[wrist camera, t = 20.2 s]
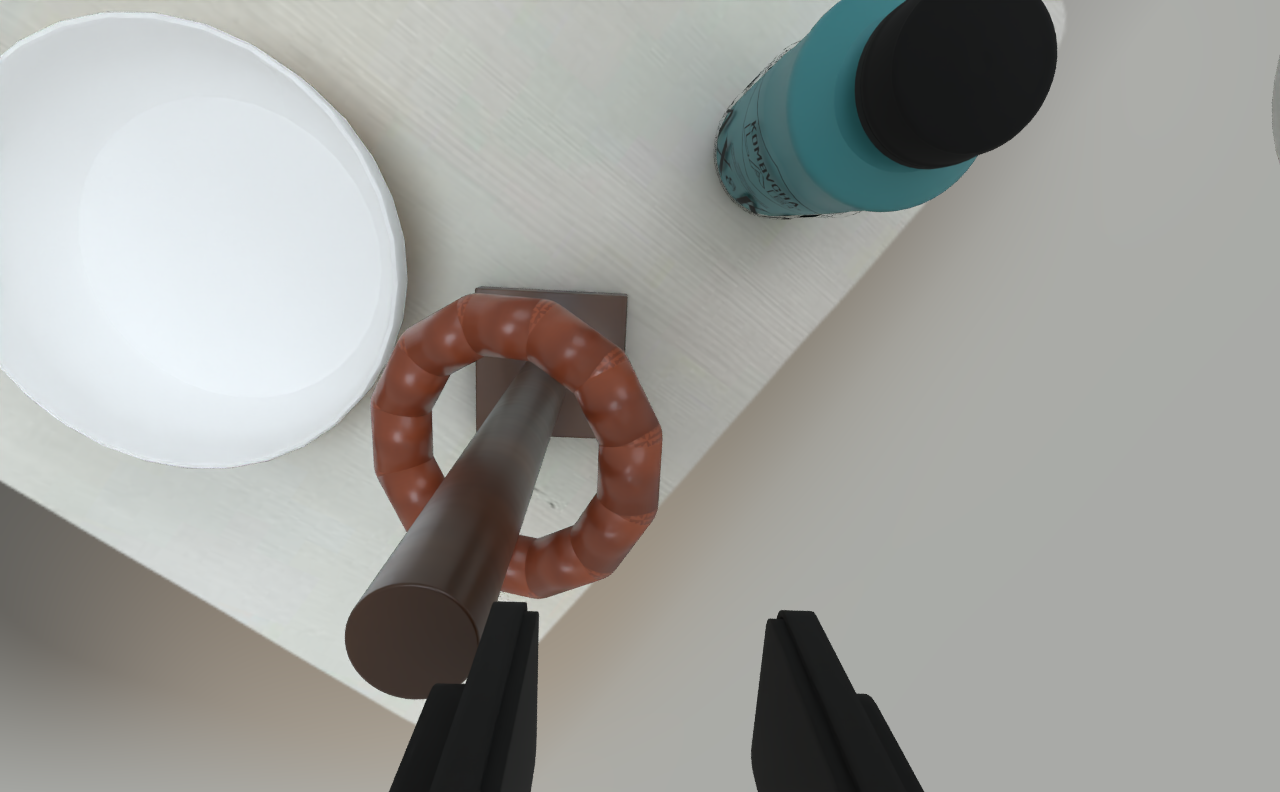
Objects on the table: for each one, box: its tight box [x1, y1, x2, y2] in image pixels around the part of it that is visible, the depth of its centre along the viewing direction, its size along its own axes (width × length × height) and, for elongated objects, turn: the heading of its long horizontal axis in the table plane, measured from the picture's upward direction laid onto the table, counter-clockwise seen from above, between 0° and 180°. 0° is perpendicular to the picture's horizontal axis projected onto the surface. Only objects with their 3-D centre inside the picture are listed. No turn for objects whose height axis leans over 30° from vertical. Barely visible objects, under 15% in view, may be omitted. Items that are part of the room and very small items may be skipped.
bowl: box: [0, 11, 408, 468], centre depth 31 cm, size 20×20×6 cm
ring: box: [370, 293, 662, 599], centre depth 22 cm, size 10×10×2 cm
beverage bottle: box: [714, 0, 1057, 219], centre depth 24 cm, size 6×7×20 cm
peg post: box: [345, 286, 628, 699], centre depth 24 cm, size 8×8×25 cm
